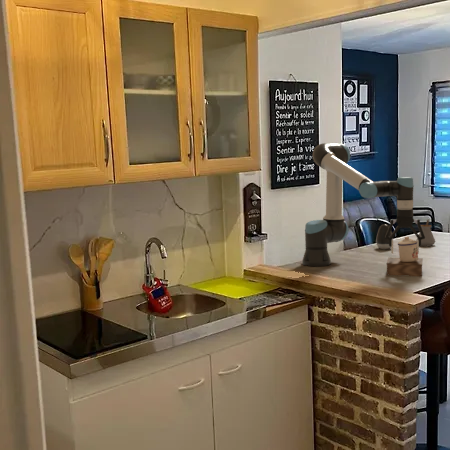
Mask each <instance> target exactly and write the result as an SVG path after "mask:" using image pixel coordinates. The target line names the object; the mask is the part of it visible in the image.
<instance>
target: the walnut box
mask: <svg viewBox="0 0 450 450" xmlns="http://www.w3.org/2000/svg"><path fill="white" fill-rule="evenodd" d="M423 260H424V259H423V258H420V257H418V260H417V261H412V262H401V261H400V257H388V258H387V261H386V275H387V276H401V275H409V276H408V277H422V276H423V275H422V274H423ZM388 274H389V275H388Z"/></svg>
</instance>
